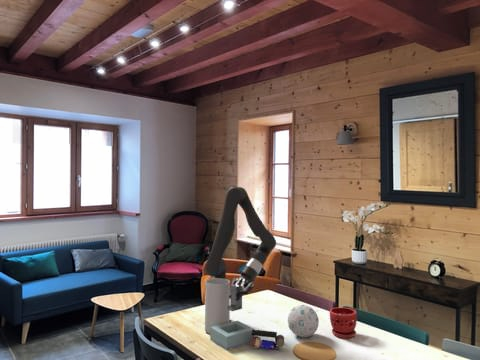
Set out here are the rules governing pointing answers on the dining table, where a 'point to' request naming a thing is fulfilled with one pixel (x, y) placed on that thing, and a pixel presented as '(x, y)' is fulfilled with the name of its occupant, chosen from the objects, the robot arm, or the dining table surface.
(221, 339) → the well block
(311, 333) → the puzzle ball
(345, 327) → the plant pot
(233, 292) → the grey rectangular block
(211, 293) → the cylinder vase
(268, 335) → the figurine character
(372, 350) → the dining table surface
